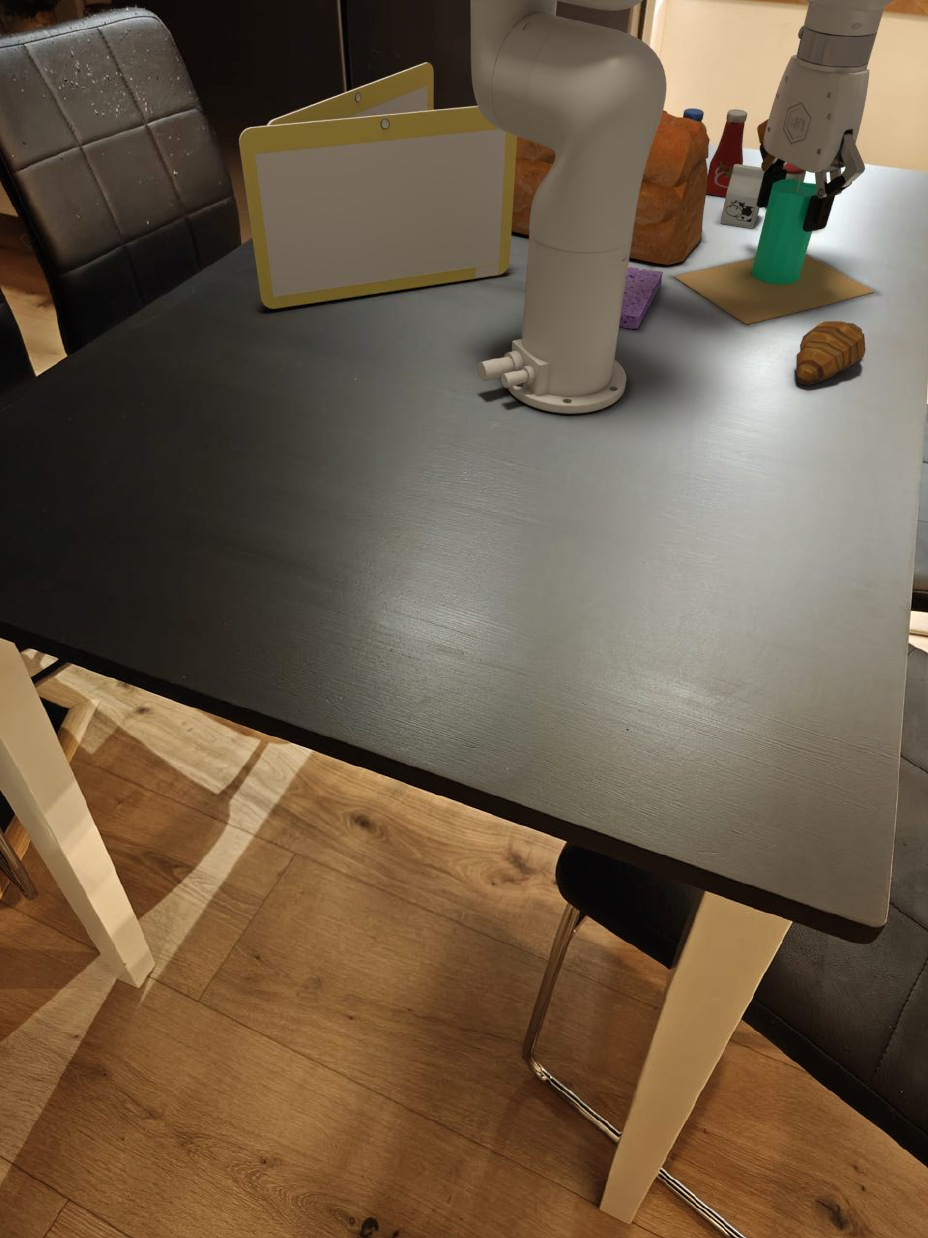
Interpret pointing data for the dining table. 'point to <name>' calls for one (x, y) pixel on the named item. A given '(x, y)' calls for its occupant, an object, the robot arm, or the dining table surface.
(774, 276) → the candle
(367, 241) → the tabletop whiteboard easel
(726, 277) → the place mat
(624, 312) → the sponge
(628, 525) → the dining table surface
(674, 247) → the bread
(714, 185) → the toy food
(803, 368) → the croissant
